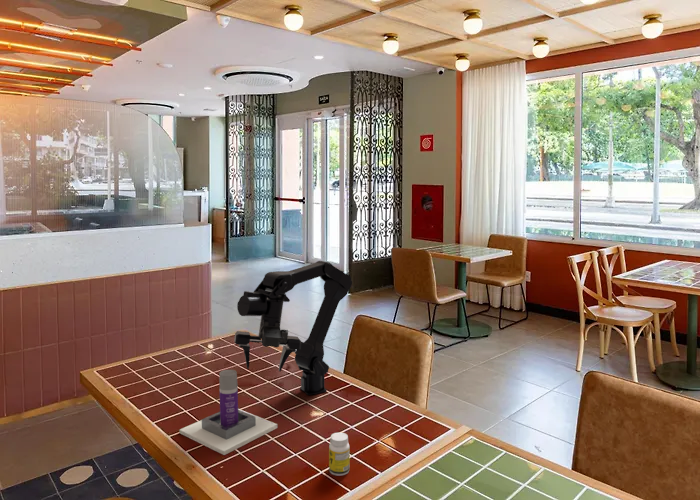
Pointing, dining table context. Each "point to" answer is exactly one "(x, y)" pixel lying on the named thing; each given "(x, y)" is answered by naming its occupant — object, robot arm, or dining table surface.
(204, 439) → the mat
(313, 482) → the dining table surface
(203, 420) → the collar
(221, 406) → the container
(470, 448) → the dining table surface
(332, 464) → the supplement bottle
